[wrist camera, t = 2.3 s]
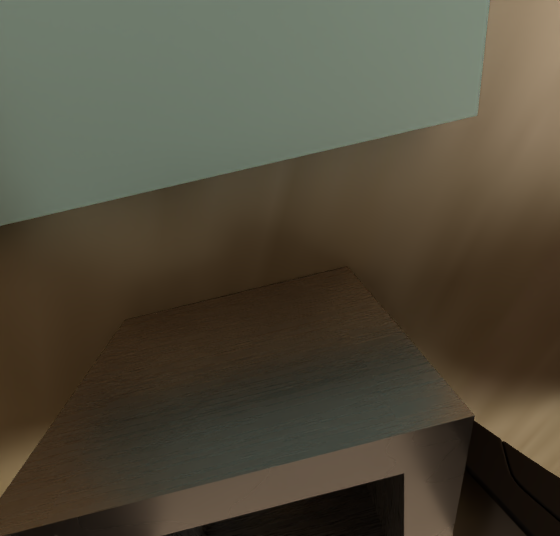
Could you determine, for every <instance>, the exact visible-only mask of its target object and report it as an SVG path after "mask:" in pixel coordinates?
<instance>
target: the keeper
mask: <svg viewBox="0 0 560 536" xmlns="http://www.w3.org/2000/svg"><path fill="white" fill-rule="evenodd" d="M489 4H490V0H0V226H2V225H6V224H11V223H15V222H19V221H24V220H28V219H32V218H37V217H41V216H45V215H49V214H54V213H58V212H62V211H67V210H71V209H75V208H80V207H84V206H88V205H93V204H97V203H101V202H106V201H110V200H114V199H119V198H123V197H127V196H132V195H136V194H140V193H145V192H149V191H153V190H158V189H162V188H166V187H171V186H175V185H179V184H184V183H188V182H192V181H197V180H201V179H205V178H210V177H214V176H218V175H223V174H227V173H231V172H236V171H240V170H244V169H249V168H253V167H257V166H262V165H266V164H270V163H275V162H279V161H283V160H287V159H292V158H296V157H300V156H305V155H309V154H313V153H318V152H322V151H326V150H331V149H335V148H339V147H344V146H348V145H352V144H357V143H361V142H365V141H370V140H374V139H378V138H383V137H387V136H391V135H396V134H400V133H404V132H409V131H413V130H417V129H422V128H426V127H430V126H435V125H439V124H443V123H448V122H452V121H456V120H461V119H465V118H469V117H474V116H477V114H478V105H479V96H480V87H481V78H482V68H483V59H484V50H485V41H486V32H487V23H488V13H489Z"/></svg>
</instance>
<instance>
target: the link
mask: <svg viewBox="0 0 560 536" xmlns="http://www.w3.org/2000/svg"><path fill="white" fill-rule="evenodd" d="M474 417H475V415H474V414H473V413H472V412H471V411H470V410H469V408H468V407H467V406H466V405H465V404H464V403H463V401H462V400H461V399H460V398H459V397H458V396H457V394H456V393H455V392H454V391H453V390H452V389H451V387H450V386H449V385H448V384H447V383H446V382H445V380H444V379H443V378H442V377H441V376H440V374H439V373H438V372H437V371H436V370H435V369H434V367H433V366H432V365H431V364H430V363H429V362H428V360H427V359H426V358H425V357H424V356H423V355H422V353H421V352H420V351H419V350H418V349H417V348H416V346H415V345H414V344H413V343H412V342H411V341H410V339H409V338H408V337H407V336H406V335H405V333H404V332H403V331H402V330H401V329H400V328H399V326H398V325H397V324H396V323H395V322H394V321H393V319H392V318H391V317H390V316H389V315H388V314H387V312H386V311H385V310H384V309H383V308H382V307H381V305H380V304H379V303H378V302H377V301H376V300H375V298H374V297H373V296H372V295H371V294H370V292H369V291H368V290H367V289H366V288H365V287H364V285H363V284H362V283H361V282H360V281H359V280H358V278H357V277H356V276H355V275H354V274H353V273H352V271H351V270H350V269H349V268H348V267H343V268H339V269H335V270H331V271H327V272H323V273H319V274H314V275H310V276H306V277H302V278H298V279H294V280H289V281H285V282H281V283H277V284H273V285H269V286H264V287H260V288H256V289H252V290H248V291H244V292H240V293H235V294H231V295H227V296H223V297H219V298H215V299H210V300H206V301H202V302H198V303H194V304H190V305H185V306H181V307H177V308H173V309H169V310H165V311H160V312H156V313H152V314H148V315H144V316H140V317H136V318H131V319H127V320H125V321H124V322H123V324H122V325H121V327H120V328H119V329H118V331H117V332H116V334H115V335H114V337H113V338H112V339H111V341H110V342H109V344H108V345H107V346H106V348H105V349H104V351H103V352H102V354H101V355H100V356H99V358H98V359H97V361H96V362H95V364H94V365H93V366H92V368H91V369H90V371H89V372H88V374H87V375H86V376H85V378H84V379H83V381H82V382H81V384H80V385H79V386H78V388H77V389H76V391H75V392H74V394H73V395H72V396H71V398H70V399H69V401H68V402H67V404H66V405H65V406H64V408H63V409H62V411H61V412H60V414H59V415H58V416H57V418H56V419H55V421H54V422H53V423H52V425H51V426H50V428H49V429H48V431H47V432H46V433H45V435H44V436H43V438H42V439H41V441H40V442H39V443H38V445H37V446H36V448H35V449H34V451H33V452H32V453H31V455H30V456H29V458H28V459H27V461H26V462H25V463H24V465H23V466H22V468H21V469H20V471H19V472H18V473H17V475H16V476H15V478H14V479H13V481H12V482H11V483H10V485H9V486H8V488H7V489H6V491H5V492H4V493H3V495H2V496H1V498H0V536H452V535H453V529H454V524H455V519H456V513H457V508H458V503H459V497H460V492H461V486H462V481H463V476H464V470H465V465H466V460H467V454H468V449H469V444H470V438H471V433H472V427H473V422H474Z"/></svg>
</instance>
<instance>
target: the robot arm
mask: <svg viewBox="0 0 560 536" xmlns="http://www.w3.org/2000/svg"><path fill="white" fill-rule="evenodd" d="M453 536H560V478H559V477H557V476H556V475H554V474H552V473H551V472H549V471H548V470H546V469H545V468H543V467H542V466H540V465H539V464H537V463H536V462H534V461H533V460H531V459H530V458H528V457H527V456H525V455H524V454H522V453H521V452H519V451H518V450H516V449H515V448H513V447H512V446H510V445H509V444H508V443H506V442H504V441H503V442H502V441H501V439H500V438H499V437H497V436H496V435H494V434H493V433H491V432H490V431H488V430H487V429H486V428H484V427H483V426H481V425H480V424H478V423H477V422H475V421H474V422H473V427H472V433H471V438H470V444H469V449H468V454H467V460H466V465H465V470H464V476H463V481H462V486H461V492H460V497H459V503H458V508H457V513H456V519H455V524H454V529H453Z"/></svg>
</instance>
